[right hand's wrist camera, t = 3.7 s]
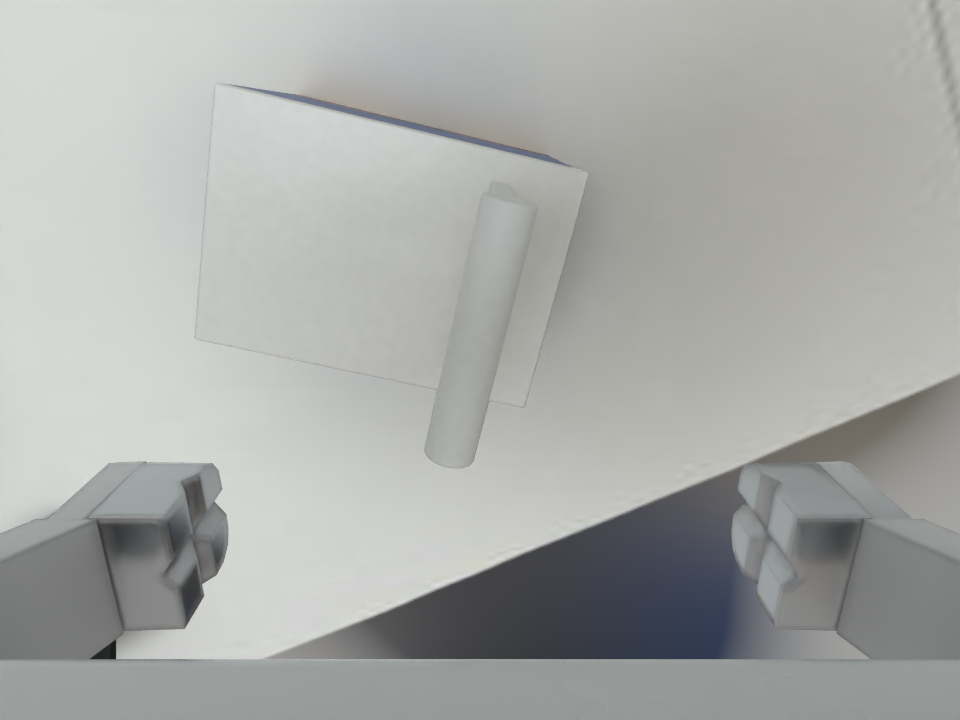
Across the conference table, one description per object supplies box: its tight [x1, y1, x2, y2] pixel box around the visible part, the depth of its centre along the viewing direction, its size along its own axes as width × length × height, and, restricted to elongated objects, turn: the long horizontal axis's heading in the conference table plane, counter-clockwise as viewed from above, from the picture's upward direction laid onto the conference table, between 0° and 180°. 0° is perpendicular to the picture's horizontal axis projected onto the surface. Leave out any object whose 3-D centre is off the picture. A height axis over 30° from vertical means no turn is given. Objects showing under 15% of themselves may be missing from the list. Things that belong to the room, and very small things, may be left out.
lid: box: [195, 83, 589, 468], centre depth 21 cm, size 13×10×8 cm
